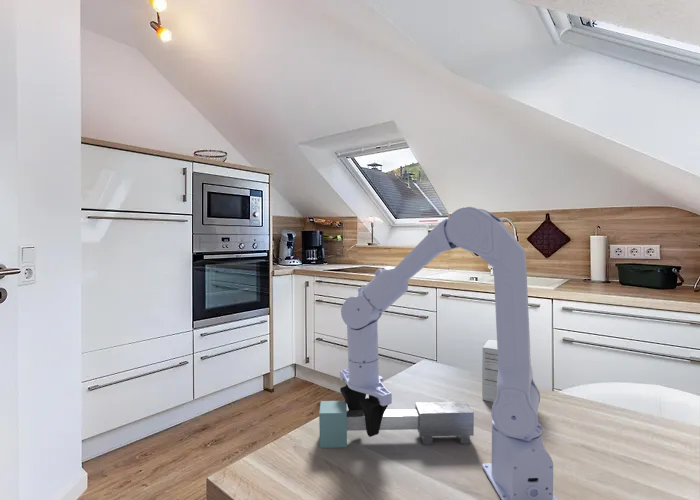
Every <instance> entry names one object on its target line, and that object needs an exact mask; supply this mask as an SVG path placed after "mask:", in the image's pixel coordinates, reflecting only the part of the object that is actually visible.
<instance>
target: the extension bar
mask: <svg viewBox="0 0 700 500" xmlns="http://www.w3.org/2000/svg"><path fill="white" fill-rule="evenodd" d="M417 429H419V413H418V410H417V409H414V408H413V409H412V408H411V409H407V408H406V409H386V410H385V412H384V415H383V417H382V421H381V425H380V430H379V431H397V430H399V431H400V430H402V431H403V430H406V431H407V430H417ZM348 431H349V432H350V431H354V432H355V431H366V422H365V416H364V412H363V410H349V409H347V432H348Z"/></svg>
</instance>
